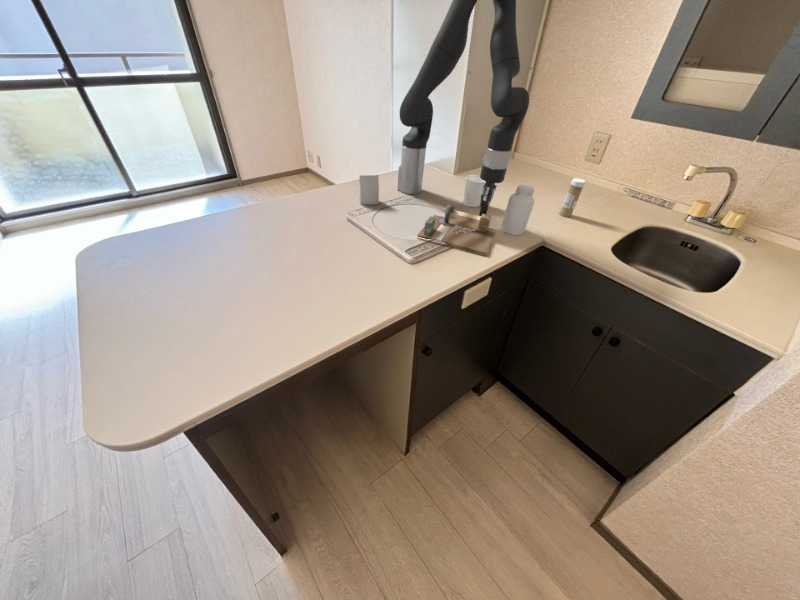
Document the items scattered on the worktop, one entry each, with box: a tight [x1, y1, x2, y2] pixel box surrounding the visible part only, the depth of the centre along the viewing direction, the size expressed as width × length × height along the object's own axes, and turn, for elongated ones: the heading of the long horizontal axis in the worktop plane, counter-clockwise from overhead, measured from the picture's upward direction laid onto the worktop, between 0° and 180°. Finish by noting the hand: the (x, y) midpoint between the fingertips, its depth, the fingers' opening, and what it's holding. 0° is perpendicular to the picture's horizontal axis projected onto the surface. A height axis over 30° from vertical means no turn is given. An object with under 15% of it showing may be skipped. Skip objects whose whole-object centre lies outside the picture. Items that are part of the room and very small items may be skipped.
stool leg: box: [444, 204, 492, 232], centre depth 107 cm, size 15×3×5 cm, turn 67°
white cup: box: [462, 174, 486, 208], centre depth 125 cm, size 8×8×10 cm
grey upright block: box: [358, 174, 380, 205], centre depth 119 cm, size 4×7×10 cm, turn 103°
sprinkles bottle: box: [558, 177, 586, 218], centre depth 122 cm, size 5×5×13 cm
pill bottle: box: [500, 184, 535, 236], centre depth 107 cm, size 8×8×15 cm
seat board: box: [417, 214, 497, 257], centre depth 105 cm, size 22×17×5 cm
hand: (482, 216), depth 111 cm, fingers closed
